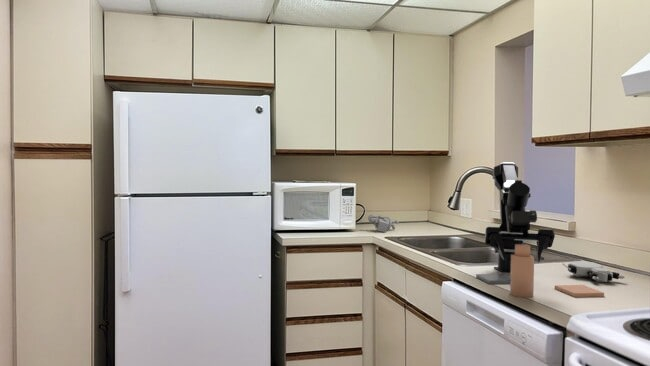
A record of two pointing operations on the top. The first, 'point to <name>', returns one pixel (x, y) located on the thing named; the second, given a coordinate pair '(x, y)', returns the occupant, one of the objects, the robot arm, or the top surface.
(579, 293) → the terracotta tile
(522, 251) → the terracotta vase
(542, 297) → the top surface
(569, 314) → the top surface
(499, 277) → the slate tile
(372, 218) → the figurine
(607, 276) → the robot toy
